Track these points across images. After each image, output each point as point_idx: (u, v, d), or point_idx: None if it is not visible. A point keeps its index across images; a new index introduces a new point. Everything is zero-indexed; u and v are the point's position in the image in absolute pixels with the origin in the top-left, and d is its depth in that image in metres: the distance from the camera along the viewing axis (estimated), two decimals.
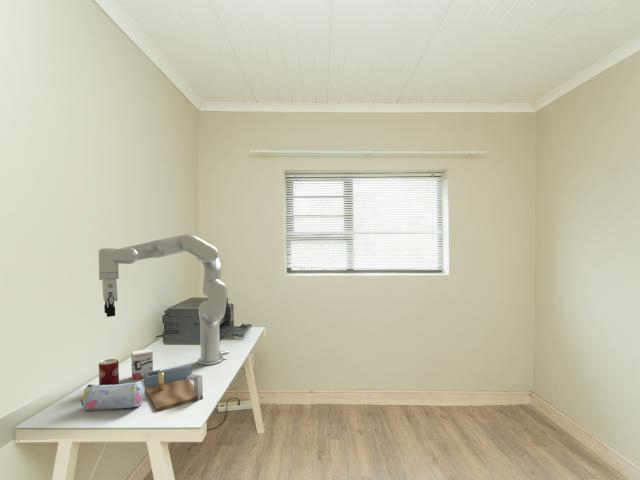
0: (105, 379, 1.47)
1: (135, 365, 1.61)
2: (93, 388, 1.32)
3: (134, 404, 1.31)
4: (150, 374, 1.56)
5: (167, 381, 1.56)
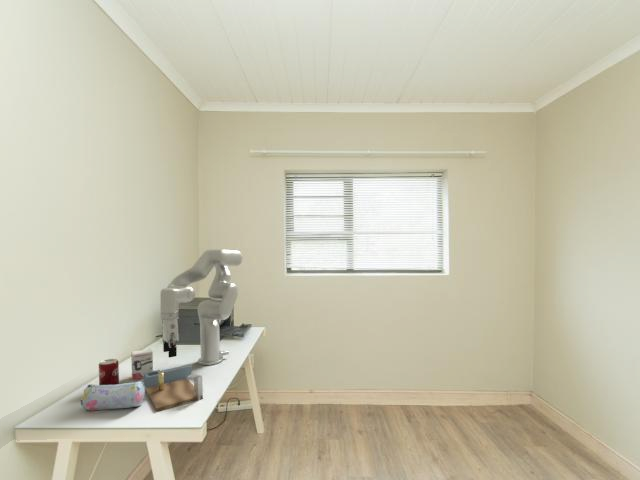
0: (105, 379, 1.47)
1: (135, 365, 1.61)
2: (93, 388, 1.32)
3: (134, 404, 1.31)
4: (150, 374, 1.56)
5: (167, 381, 1.56)
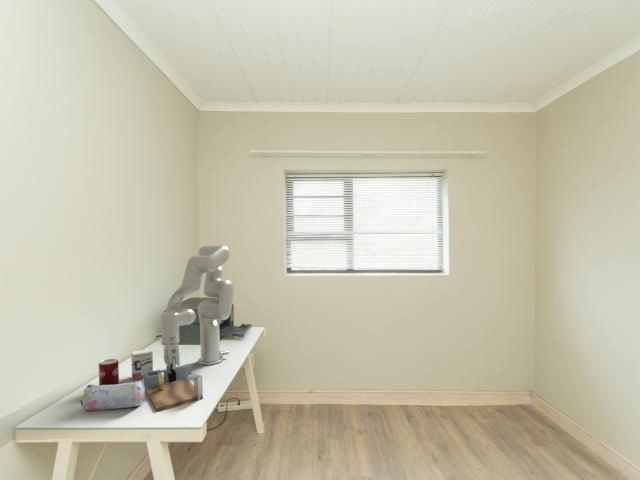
0: (105, 379, 1.47)
1: (135, 365, 1.61)
2: (93, 388, 1.32)
3: (135, 403, 1.32)
4: (150, 374, 1.56)
5: (167, 381, 1.56)
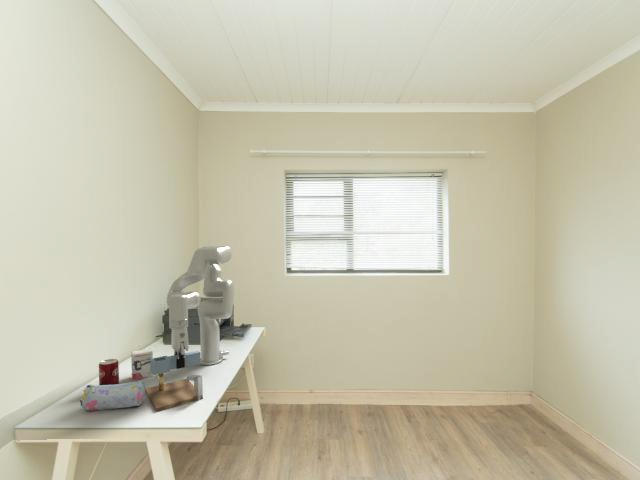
0: (105, 379, 1.47)
1: (135, 365, 1.61)
2: (93, 388, 1.32)
3: (135, 403, 1.32)
4: (157, 360, 1.47)
5: (175, 367, 1.48)
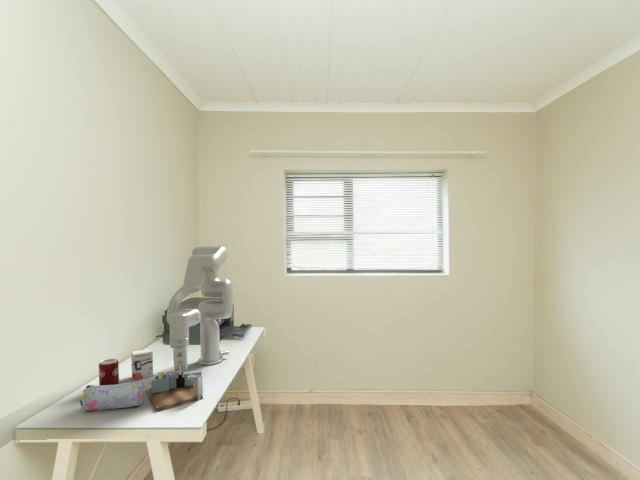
0: (105, 379, 1.47)
1: (135, 365, 1.61)
2: (93, 388, 1.32)
3: (136, 403, 1.32)
4: None
5: (175, 386, 1.47)
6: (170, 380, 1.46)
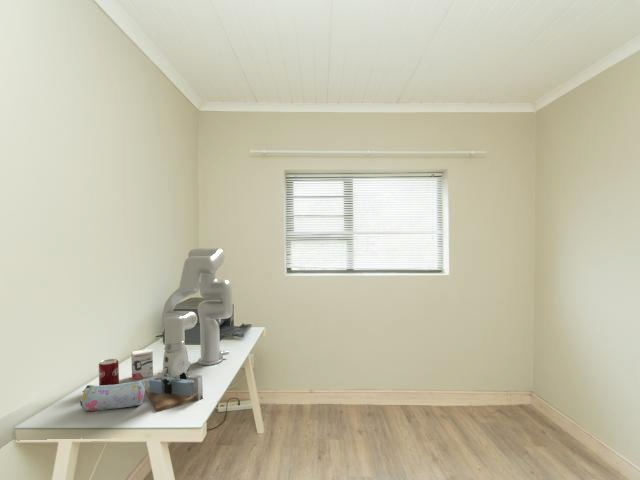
0: (105, 379, 1.47)
1: (135, 365, 1.61)
2: (93, 389, 1.32)
3: (136, 403, 1.32)
4: None
5: None
6: None
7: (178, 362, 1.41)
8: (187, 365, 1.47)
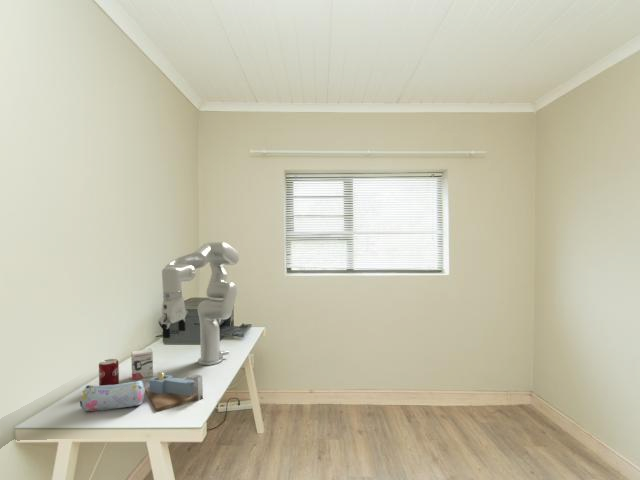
0: (105, 379, 1.47)
1: (135, 365, 1.61)
2: (92, 389, 1.31)
3: (136, 402, 1.33)
4: None
5: (169, 391, 1.43)
6: (165, 384, 1.44)
7: (176, 309, 1.52)
8: (184, 313, 1.57)
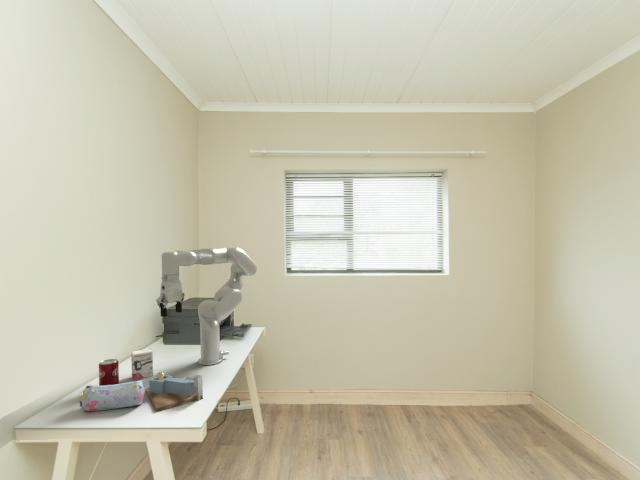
0: (105, 379, 1.47)
1: (135, 365, 1.61)
2: (92, 389, 1.31)
3: (137, 402, 1.33)
4: None
5: (169, 391, 1.43)
6: (165, 384, 1.44)
7: (173, 290, 1.64)
8: (181, 296, 1.69)
